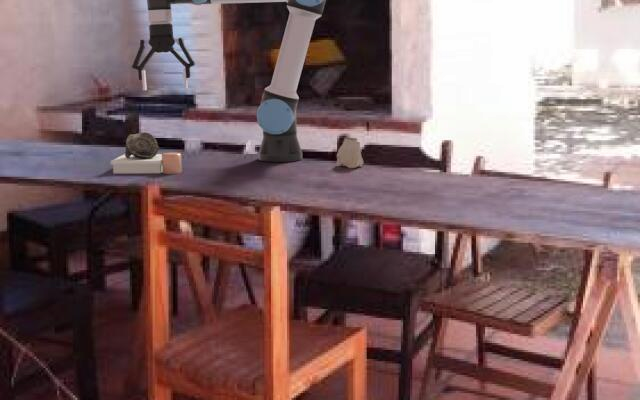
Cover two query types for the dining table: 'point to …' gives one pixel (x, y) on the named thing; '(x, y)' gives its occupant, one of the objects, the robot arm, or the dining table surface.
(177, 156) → the peach rounded glossy part
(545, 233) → the dining table surface
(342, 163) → the beige rough lump
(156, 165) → the stand
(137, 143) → the fossil
